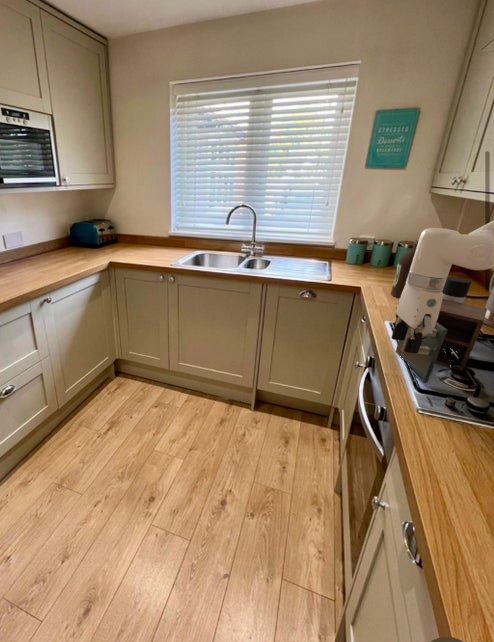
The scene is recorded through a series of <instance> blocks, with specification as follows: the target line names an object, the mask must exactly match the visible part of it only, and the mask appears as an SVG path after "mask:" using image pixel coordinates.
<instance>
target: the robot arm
mask: <svg viewBox="0 0 494 642" xmlns="http://www.w3.org/2000/svg"><path fill="white" fill-rule="evenodd" d="M418 240H419V242H418V245H417V248H416V251H415V255H414V258H413V261H412V264H411V268H410V271H409V274H408V277H407V280H406V285H405V287H404V289H403V292H402V294H401V297H400V299H399V298H398V302H397V305H396V307H395V321H394V327H393V331H392V334H391V339H392V340H395V341H399V340H405V337H406V334H407V331H408V328H409V327H408V326H407V325H409V326H410V327H411V333H410V338H408V339H407V342H406V345H405V348H404V352H406V353H418V351H419V349H420V346H421V343H422V341H424V339H425V338H427V337H428V336H431V335H432V330H433V329H434V327H435V325H436V322H437V319H438V315H439V312H440V308H441V303H442V297H443V292H442V290H443V288H444V285H445V282H446V279H447V277H449V273H450V272H451V271H450V270H451V268H452V265H454V266H458V267H462V268H464V269H467V270H471V271H472V270H473V271H485V270H489V269H492V268H494V220H492V221H490V222H488V223H486V224H484V225H481V226H480V227H478V228H477V229H474V230H473V231H471V232H469V233H468V234H465V233H464V234H463V233H460V232H459V231H457V230H454V229H451V228H450V229H449V228H444V227H443V228H442V227H427V228H425V229H423V230H422V232H421V233H420V235H419V238H418ZM418 325H421V327H417V326H418ZM416 330H420V332H419V333H417V334H416Z"/></svg>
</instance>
